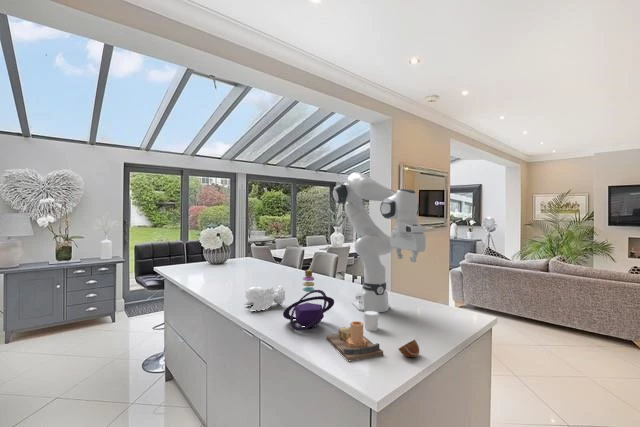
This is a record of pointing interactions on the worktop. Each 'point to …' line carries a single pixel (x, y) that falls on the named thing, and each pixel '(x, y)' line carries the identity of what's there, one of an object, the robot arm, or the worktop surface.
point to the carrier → (353, 353)
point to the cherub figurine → (264, 297)
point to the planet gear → (356, 336)
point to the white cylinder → (371, 320)
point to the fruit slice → (410, 349)
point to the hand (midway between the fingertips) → (406, 260)
